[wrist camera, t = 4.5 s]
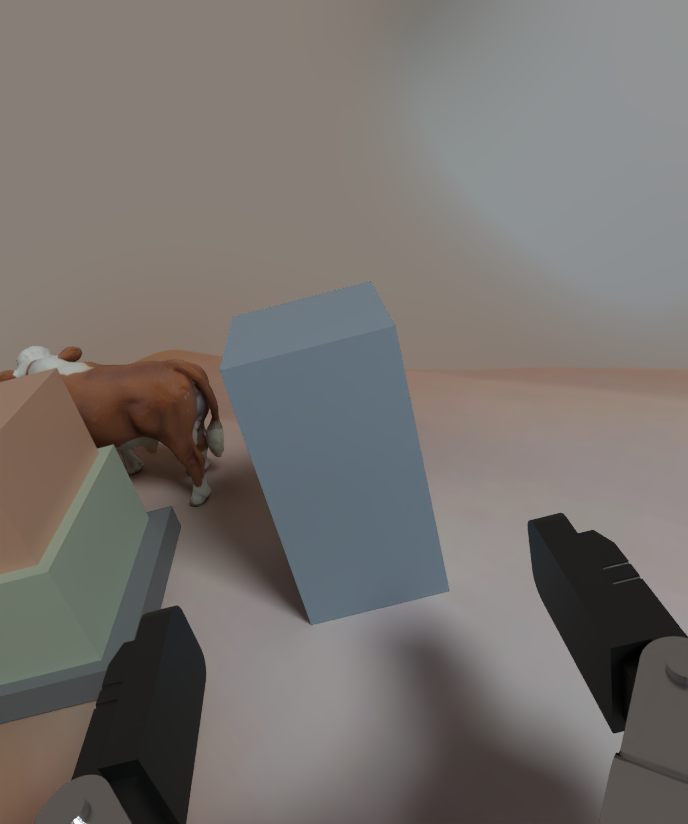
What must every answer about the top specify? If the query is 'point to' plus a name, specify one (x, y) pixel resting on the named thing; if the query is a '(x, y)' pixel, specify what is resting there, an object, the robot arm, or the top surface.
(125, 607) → the brick tower
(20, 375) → the bull figurine
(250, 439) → the column brick
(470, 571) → the top surface
